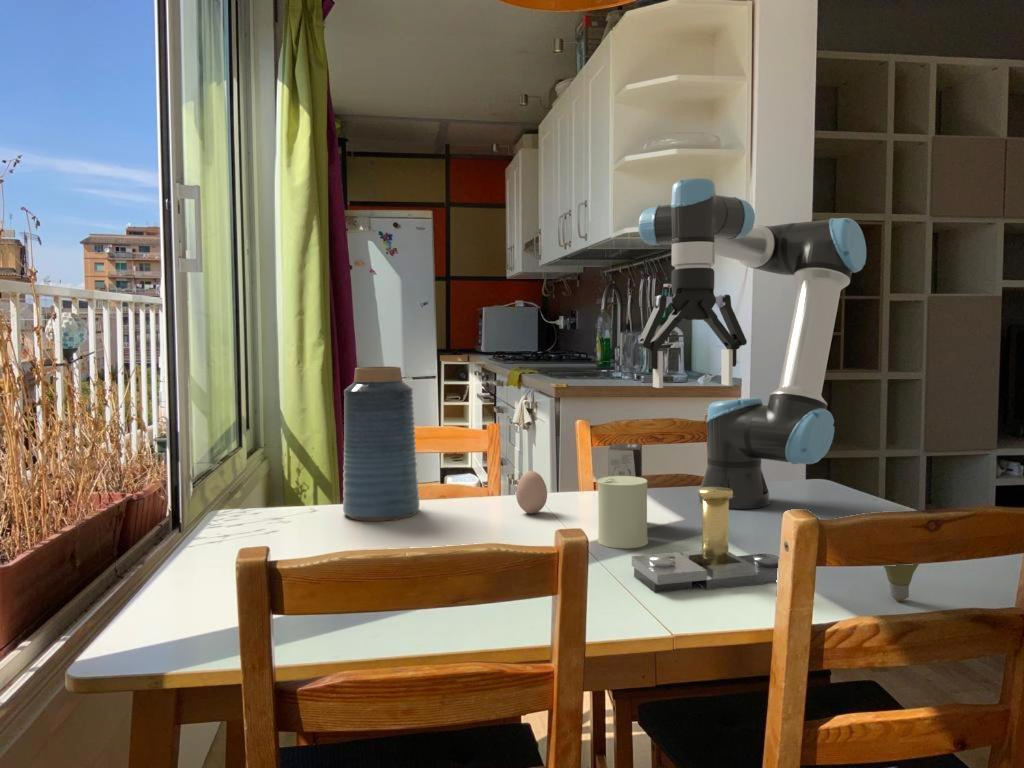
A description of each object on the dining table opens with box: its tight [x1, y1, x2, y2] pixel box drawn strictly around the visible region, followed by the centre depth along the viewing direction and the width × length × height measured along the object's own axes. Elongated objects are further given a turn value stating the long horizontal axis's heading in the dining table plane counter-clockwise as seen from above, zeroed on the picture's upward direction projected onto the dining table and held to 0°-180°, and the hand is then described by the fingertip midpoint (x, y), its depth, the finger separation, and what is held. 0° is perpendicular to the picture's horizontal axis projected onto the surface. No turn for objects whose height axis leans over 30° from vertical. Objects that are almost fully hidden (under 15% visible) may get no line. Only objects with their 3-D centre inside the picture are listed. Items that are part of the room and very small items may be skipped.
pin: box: [698, 487, 733, 570], centre depth 128 cm, size 5×5×14 cm
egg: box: [515, 470, 548, 515], centre depth 174 cm, size 7×7×9 cm
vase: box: [342, 365, 420, 522], centre depth 175 cm, size 16×16×32 cm
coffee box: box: [607, 442, 643, 478], centre depth 162 cm, size 9×6×16 cm
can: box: [597, 476, 649, 550], centre depth 150 cm, size 9×9×12 cm
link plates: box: [631, 550, 780, 593], centre depth 128 cm, size 24×10×4 cm, turn 104°
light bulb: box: [883, 563, 920, 602], centre depth 117 cm, size 6×6×10 cm
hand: (692, 386), depth 147 cm, fingers open, 13 cm apart
